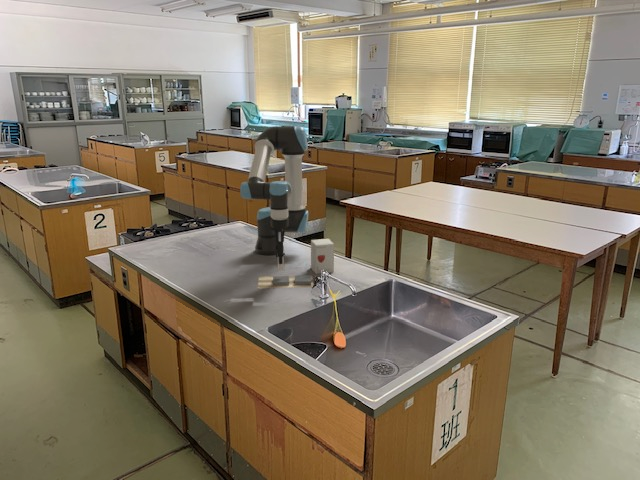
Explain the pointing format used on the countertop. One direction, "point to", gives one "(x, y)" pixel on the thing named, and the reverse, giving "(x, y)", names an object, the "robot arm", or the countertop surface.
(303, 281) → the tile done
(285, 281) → the tile
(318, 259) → the supplement box
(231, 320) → the countertop surface
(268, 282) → the board
